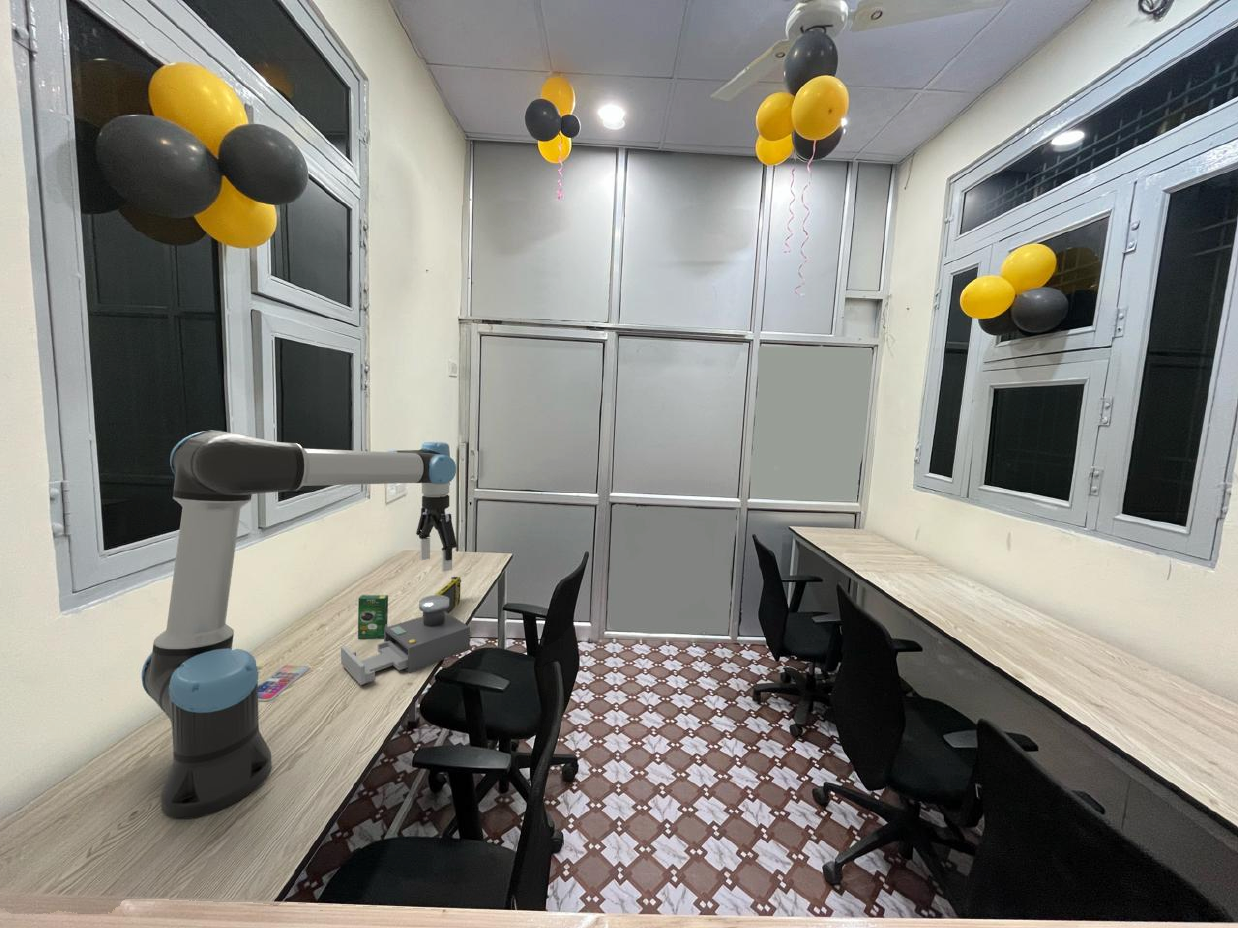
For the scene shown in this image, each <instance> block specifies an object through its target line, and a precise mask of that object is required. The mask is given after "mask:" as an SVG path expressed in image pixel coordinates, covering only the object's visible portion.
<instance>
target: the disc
mask: <svg viewBox="0 0 1238 928" xmlns="http://www.w3.org/2000/svg"><path fill="white" fill-rule="evenodd" d="M448 607H449V598H448V597H447V596H443V595H435V594H434V595H429V596H425V597H423V598H421V599H419V601H418V609H419V611H422V612H423V611H424V612H437V611H441V610H444V609H446V608H448Z"/></svg>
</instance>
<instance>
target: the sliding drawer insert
mask: <svg viewBox="0 0 1238 928" xmlns="http://www.w3.org/2000/svg"><path fill="white" fill-rule="evenodd" d="M377 652H378V653H379V654H376V655H374V656H370V657H367V658H365V659H362V660H360V659H359V658H358V656H357V652H356V651H353V652H352V651H351V650H350V649H349V648H348V647H347V646H346V645H343V646H340V664H341V665H342V667H344V669H346V671H347V672H348V673H349V674H350V675H351V676H352V677H353V678H354V679H355V681H356V682H357V683H358V684H359V685H360V686H362V685H365V684H367V683H370V682H372V681H374V680H376V672H378V671H381V670H383V669H385V668H389V667H391V666H393V667H395V668H396V669H397V670H398V671H401V670H404V668H407V667H408V650H407V649H406V648H405V647H404V646H403V645H401V644H400V643H399V642H395V643H392V642H391V641H390V640H389V641H386V642H380V643H378V644H377Z"/></svg>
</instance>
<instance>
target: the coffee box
mask: <svg viewBox="0 0 1238 928" xmlns="http://www.w3.org/2000/svg"><path fill="white" fill-rule="evenodd" d="M357 602H358V605H357V607H358V608H357V609H358V612H357V613H358V614H357V639H358V640H359V639H361V640H365V639H384V628H386V627H388V619H389V618H388V613H389V608H388V607H389V595H388V594H386V595H384V594H382V595H381V594H379V595H378V594H377V595H376V594H375V595H374V594H371V595H368V594H365V595H364V594H362V595H360V596H359V597H358V601H357Z"/></svg>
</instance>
